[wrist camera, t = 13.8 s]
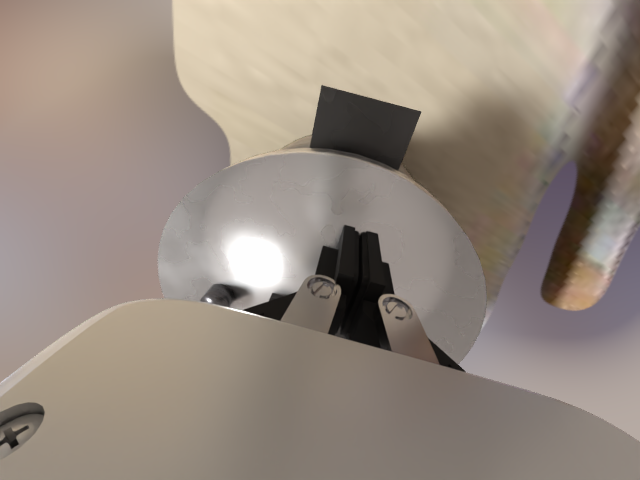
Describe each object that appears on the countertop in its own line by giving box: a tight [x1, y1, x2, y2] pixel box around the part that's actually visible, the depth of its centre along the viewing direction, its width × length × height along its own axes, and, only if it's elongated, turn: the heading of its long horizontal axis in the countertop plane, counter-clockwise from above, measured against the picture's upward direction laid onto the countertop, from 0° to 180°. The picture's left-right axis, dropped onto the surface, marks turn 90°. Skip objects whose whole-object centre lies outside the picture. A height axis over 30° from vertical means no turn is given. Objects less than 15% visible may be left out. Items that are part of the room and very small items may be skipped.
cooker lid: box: [158, 148, 487, 364], centre depth 15 cm, size 19×19×3 cm
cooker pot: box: [280, 85, 421, 180], centre depth 21 cm, size 24×18×12 cm
